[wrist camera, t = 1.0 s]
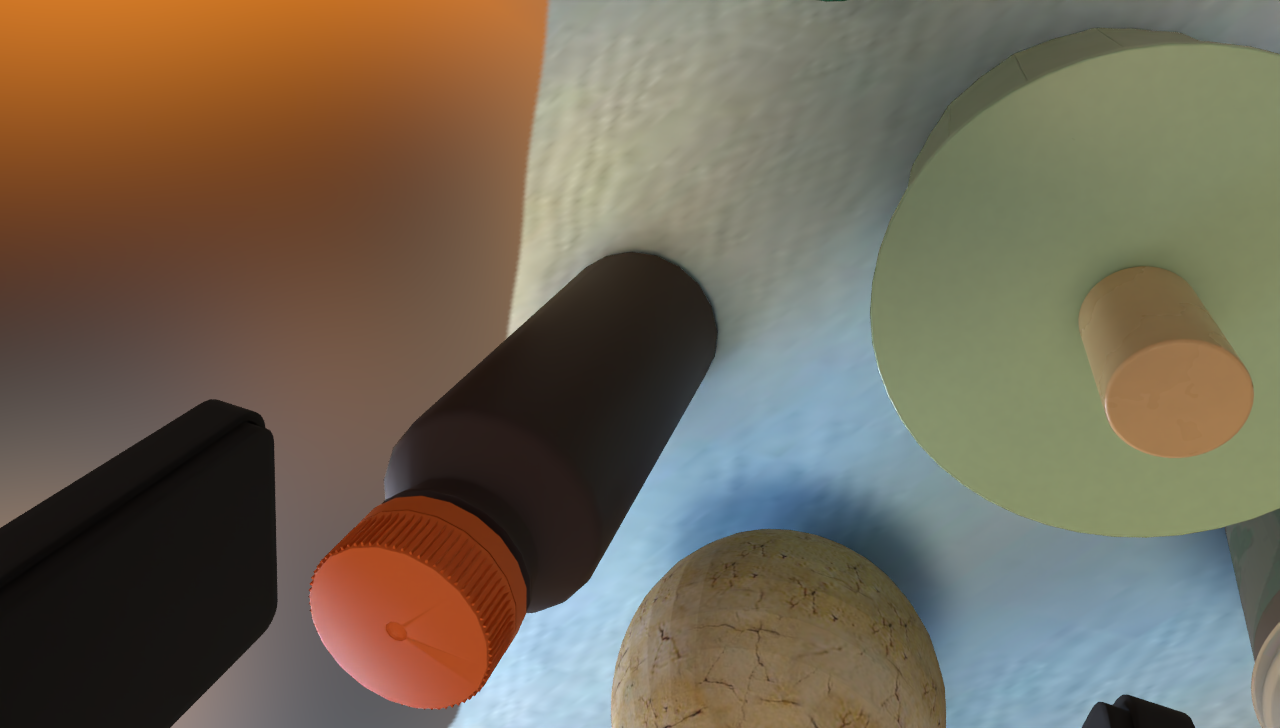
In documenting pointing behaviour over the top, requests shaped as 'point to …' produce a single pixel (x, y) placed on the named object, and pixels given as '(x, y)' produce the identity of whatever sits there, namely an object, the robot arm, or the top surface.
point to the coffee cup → (1260, 606)
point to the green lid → (1099, 294)
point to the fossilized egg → (776, 642)
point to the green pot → (1033, 74)
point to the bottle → (514, 482)
